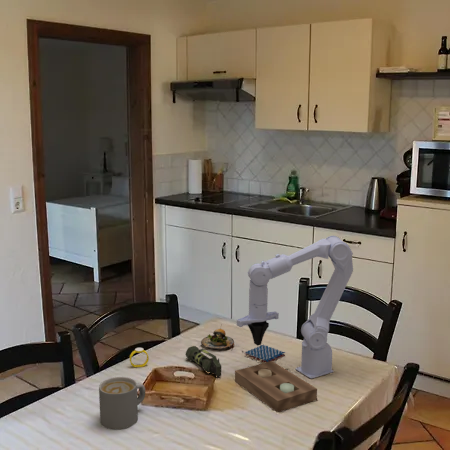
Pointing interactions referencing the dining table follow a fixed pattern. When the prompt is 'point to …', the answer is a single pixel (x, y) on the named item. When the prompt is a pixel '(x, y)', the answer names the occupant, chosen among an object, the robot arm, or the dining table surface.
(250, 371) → the walnut block
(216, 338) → the burger
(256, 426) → the dining table surface
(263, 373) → the maple peg
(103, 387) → the coffee mug
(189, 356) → the dark green rolled bundle
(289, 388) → the sage peg
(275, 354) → the woven mat
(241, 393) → the dining table surface
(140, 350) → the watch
